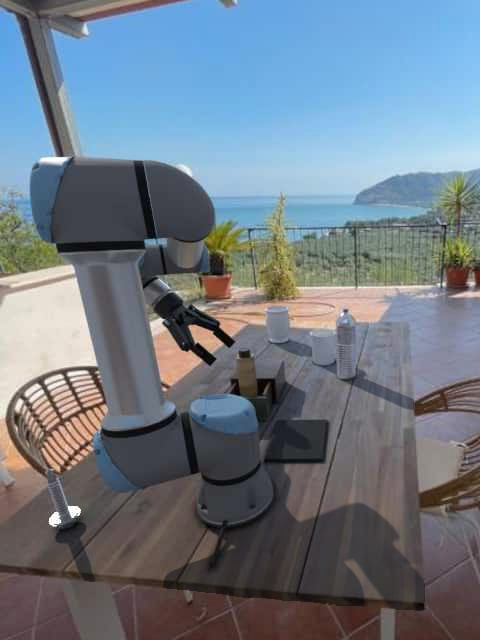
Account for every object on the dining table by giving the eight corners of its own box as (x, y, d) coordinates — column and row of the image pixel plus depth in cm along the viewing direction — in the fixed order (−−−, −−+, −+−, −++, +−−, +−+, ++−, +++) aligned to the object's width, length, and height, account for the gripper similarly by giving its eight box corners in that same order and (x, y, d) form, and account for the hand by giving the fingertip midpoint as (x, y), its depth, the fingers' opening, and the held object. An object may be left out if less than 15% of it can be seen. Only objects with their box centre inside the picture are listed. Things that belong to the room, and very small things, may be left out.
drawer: (264, 427, 106) (262, 405, 104) (218, 427, 106) (215, 406, 103) (277, 395, 124) (275, 376, 121) (237, 396, 123) (235, 376, 121)
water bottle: (353, 381, 136) (353, 312, 127) (334, 379, 137) (333, 310, 128) (357, 373, 142) (357, 306, 133) (339, 371, 143) (338, 305, 134)
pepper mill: (257, 410, 113) (250, 352, 106) (239, 410, 113) (232, 352, 106) (260, 401, 117) (255, 346, 111) (244, 401, 117) (237, 346, 111)
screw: (88, 514, 78) (73, 533, 73) (62, 515, 77) (46, 535, 73) (70, 460, 73) (53, 477, 69) (43, 461, 73) (24, 478, 68)
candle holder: (341, 360, 154) (340, 331, 150) (326, 368, 146) (325, 338, 142) (321, 355, 159) (320, 327, 154) (306, 362, 151) (304, 333, 147)
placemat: (322, 461, 94) (322, 458, 94) (264, 461, 94) (263, 459, 93) (326, 421, 111) (326, 419, 110) (277, 422, 110) (277, 419, 110)
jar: (263, 343, 172) (260, 310, 166) (272, 336, 181) (269, 304, 176) (286, 345, 170) (284, 311, 164) (294, 337, 179) (292, 305, 174)
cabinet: (277, 403, 121) (275, 378, 118) (233, 403, 121) (230, 378, 117) (285, 381, 135) (283, 358, 132) (246, 381, 135) (243, 359, 132)
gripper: (178, 299, 118) (232, 346, 122) (126, 322, 95) (195, 380, 99) (192, 281, 116) (246, 331, 120) (143, 302, 92) (212, 361, 97)
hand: (223, 353), depth 110 cm, fingers open, 13 cm apart
